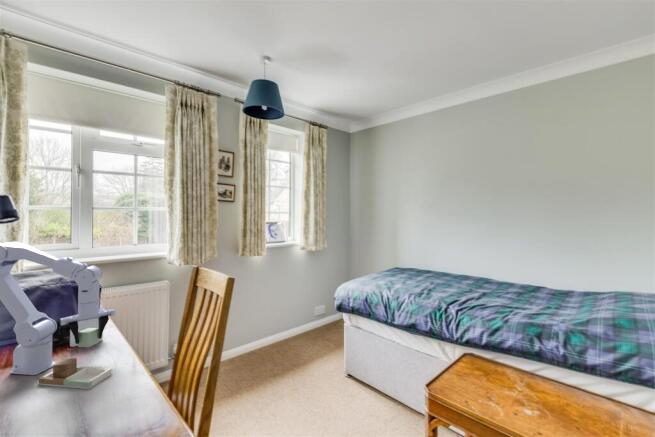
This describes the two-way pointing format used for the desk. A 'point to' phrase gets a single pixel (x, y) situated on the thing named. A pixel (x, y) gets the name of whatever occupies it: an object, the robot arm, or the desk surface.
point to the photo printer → (84, 325)
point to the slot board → (78, 378)
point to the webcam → (61, 335)
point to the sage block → (88, 337)
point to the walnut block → (65, 368)
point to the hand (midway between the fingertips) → (88, 340)
